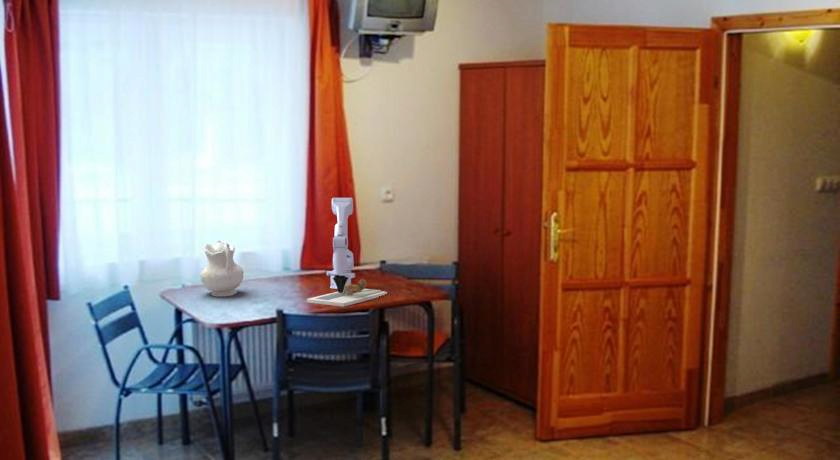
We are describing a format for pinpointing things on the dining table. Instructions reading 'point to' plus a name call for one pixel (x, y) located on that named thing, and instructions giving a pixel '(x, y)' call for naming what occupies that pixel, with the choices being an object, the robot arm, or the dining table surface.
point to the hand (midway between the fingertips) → (340, 292)
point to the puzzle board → (342, 298)
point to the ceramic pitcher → (221, 270)
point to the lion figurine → (356, 286)
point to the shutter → (360, 293)
